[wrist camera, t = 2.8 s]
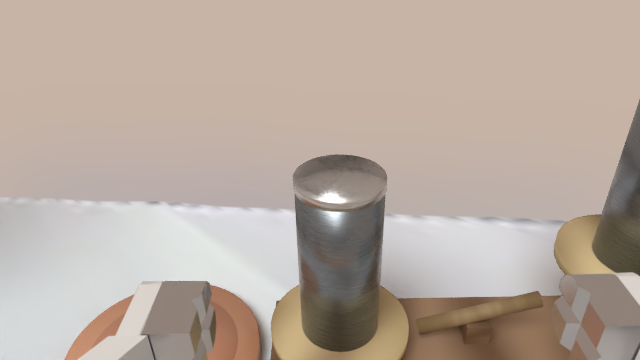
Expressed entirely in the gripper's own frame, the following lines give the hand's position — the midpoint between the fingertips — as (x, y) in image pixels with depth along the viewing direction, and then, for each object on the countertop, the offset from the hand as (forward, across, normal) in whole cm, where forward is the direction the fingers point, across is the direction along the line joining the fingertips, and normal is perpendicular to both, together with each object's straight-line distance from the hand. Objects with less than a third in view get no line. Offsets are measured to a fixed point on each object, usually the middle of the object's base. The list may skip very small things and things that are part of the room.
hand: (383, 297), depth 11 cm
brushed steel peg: (+14, -1, -16) cm, 21 cm away
